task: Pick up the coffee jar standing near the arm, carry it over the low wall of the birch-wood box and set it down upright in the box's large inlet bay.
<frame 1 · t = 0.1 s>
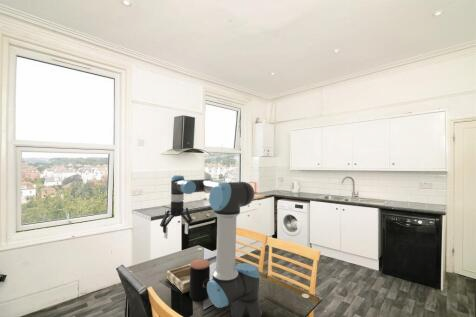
hand: (176, 235, 143), 28 cm above the table, fingers open, 13 cm apart
walled box: (186, 281, 144), on the table
coffee jar: (199, 296, 129), on the table
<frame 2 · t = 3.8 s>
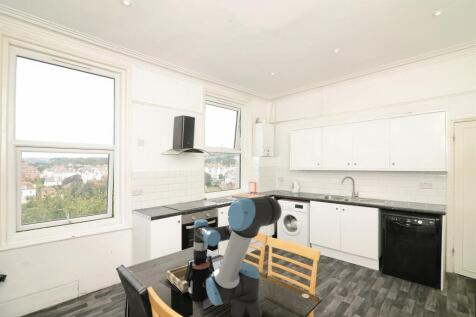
hand: (199, 288, 129), 4 cm above the table, fingers closed on coffee jar, 11 cm apart
coffee jar: (199, 296, 129), on the table, touching gripper
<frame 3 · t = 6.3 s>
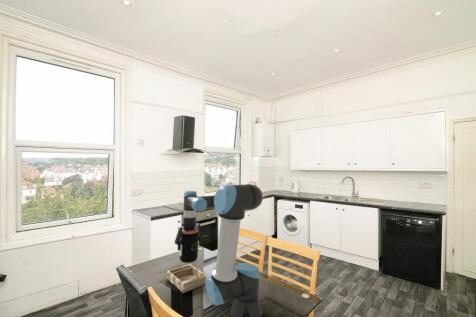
hand: (188, 253, 142), 18 cm above the table, fingers closed on coffee jar, 11 cm apart
coffee jar: (188, 259, 142), point 14 cm above the table, touching gripper
when the fingers open (7 cm above the table, at t = 9.3 s): coffee jar drops 2 cm, resting on walled box.
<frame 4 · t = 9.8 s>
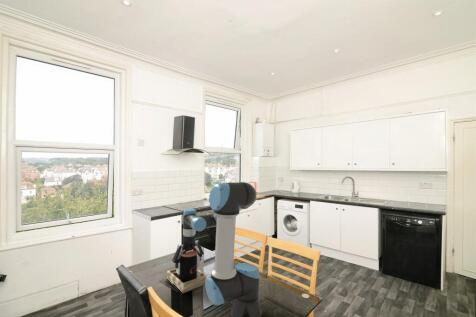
hand: (188, 270, 142), 8 cm above the table, fingers open, 13 cm apart
coffee jar: (187, 282, 142), point 1 cm above the table, touching walled box
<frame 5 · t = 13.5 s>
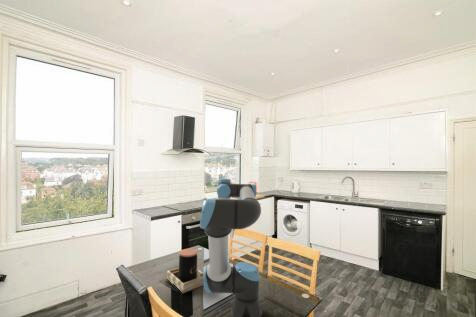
hand: (223, 239, 143), 27 cm above the table, fingers open, 13 cm apart
nothing on the table moved.
at the end: coffee jar inside the target area on the walled box (0.5 cm from its centre), point 0.6 cm above the walled box's base; coffee jar tilted 0°; the gripper is holding nothing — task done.
